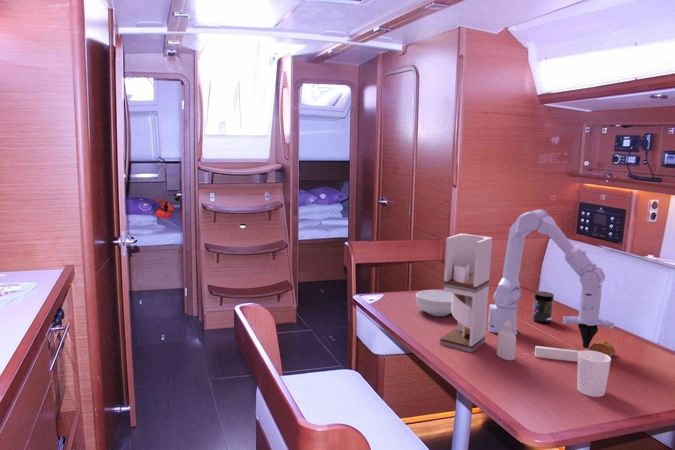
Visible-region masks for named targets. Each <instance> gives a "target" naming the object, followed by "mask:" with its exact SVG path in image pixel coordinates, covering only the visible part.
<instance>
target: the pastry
mask: <svg viewBox="0 0 675 450" xmlns="http://www.w3.org/2000/svg"><path fill="white" fill-rule="evenodd" d="M588 350H590V351H597V352H601V353H604V354H606V355H608V356H609V357H610V358H611V357H614V355H615V354H616V350H615V348H614V346H613V344H612V343H610V342H609V341H605V340H603V341H601V340H599V341H597V342H595V343H593V344H592V345H590V346H589V348H588Z"/></svg>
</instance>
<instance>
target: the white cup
mask: <svg viewBox="0 0 675 450" xmlns="http://www.w3.org/2000/svg"><path fill="white" fill-rule="evenodd" d="M579 351H580V352H579V353H578V362H577V368H576V369H577V372H576V375H577V376H576V380H577V383H576V384H577V385H576V389H577V391H578V392H579V393H580V394H582V395H585V396H588V397H591V398H592V397H593V398H600V397H601V398H602V397H603V396H605V394H606V389H607V384H608V380H609V374H610V369H611V368H610V367H611V362H612V358H611V357H609V356H608V355H606V354H604V353H601V352H597V351H590V350H589V349H588V350H587V349H585V350H579Z"/></svg>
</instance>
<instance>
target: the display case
mask: <svg viewBox="0 0 675 450" xmlns="http://www.w3.org/2000/svg"><path fill="white" fill-rule="evenodd" d="M445 242H446V243H445V259H444V274H443V275H444V277H443V291H445V292H450V293H452V305H451V312H452V313H451V314H452V317H453V318H454V319H455V320H456V321H457V323H456V328H454V329H452V330H451V331H449V332H448V333H446V334H445V335H443V336H442V337H440V338H439V339H440V340H439V341H440V343H439V345H441V346H446V347H448V348H453V349H457V350H460V351H463V352H468V353H473V352H474V351H476V349H478V348H479V347H480V346H481V345H483V344H484V343H485V341H486V328H487V327H486V326H487V316H488V315H487V313H488V302H489V289H490V288H489V287H490V275H491V262H492V251H493V250H492V249H493V236H492V237H490V236H485V235H484V236H483V235H477V234H470V233H469V234H467V233H458V234H455V235H451V236H448V237H446V239H445Z"/></svg>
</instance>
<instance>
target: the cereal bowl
mask: <svg viewBox="0 0 675 450" xmlns="http://www.w3.org/2000/svg"><path fill="white" fill-rule="evenodd" d="M415 301H416V304H417V306H418V308H419V309H421V310H422V311H424V312H426V314H428V315H430V316H434V317H446V316H447V315H449V314H452V312H451V305H452V293H450V292H445V291H443V290H441V289H426V290H421V291H418V292H416V293H415Z"/></svg>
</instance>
